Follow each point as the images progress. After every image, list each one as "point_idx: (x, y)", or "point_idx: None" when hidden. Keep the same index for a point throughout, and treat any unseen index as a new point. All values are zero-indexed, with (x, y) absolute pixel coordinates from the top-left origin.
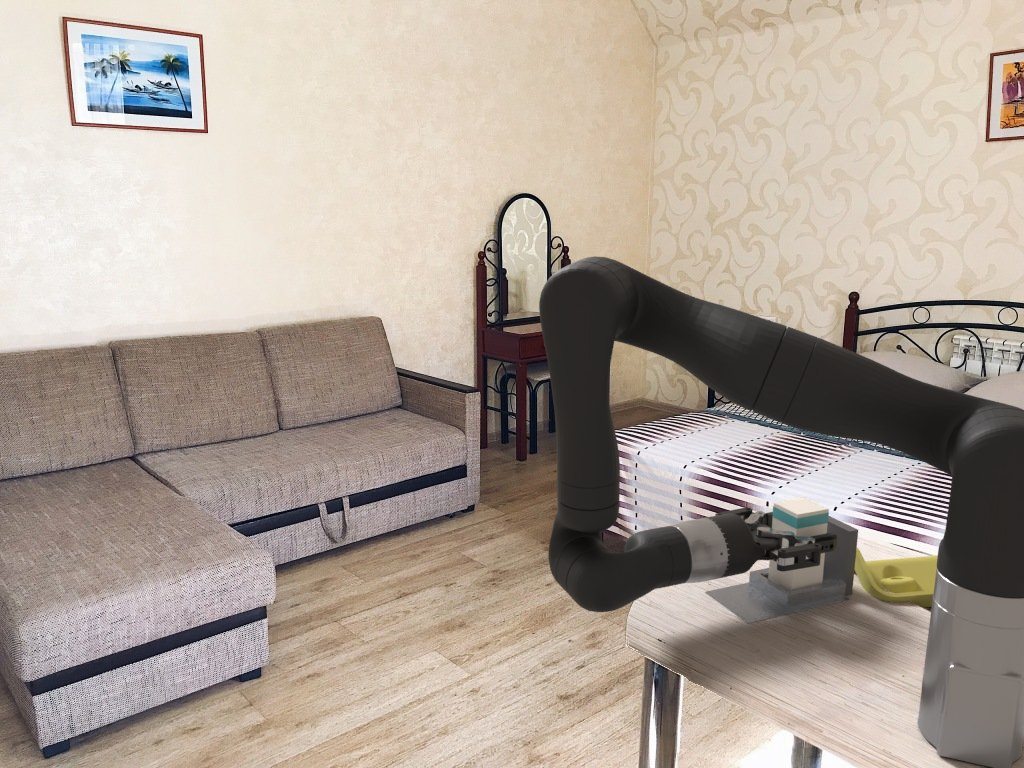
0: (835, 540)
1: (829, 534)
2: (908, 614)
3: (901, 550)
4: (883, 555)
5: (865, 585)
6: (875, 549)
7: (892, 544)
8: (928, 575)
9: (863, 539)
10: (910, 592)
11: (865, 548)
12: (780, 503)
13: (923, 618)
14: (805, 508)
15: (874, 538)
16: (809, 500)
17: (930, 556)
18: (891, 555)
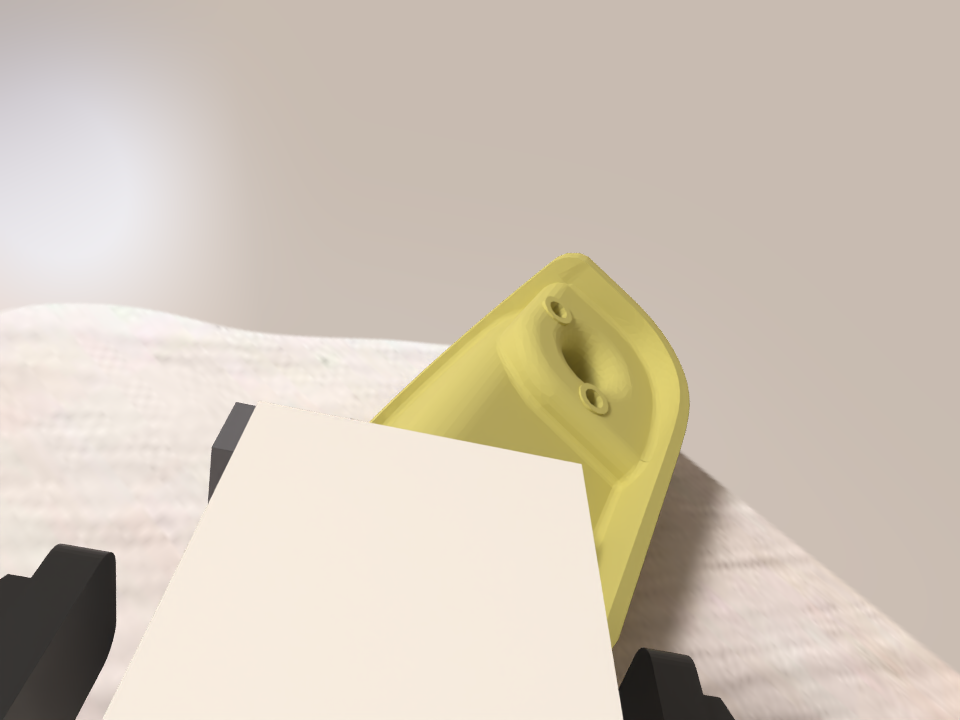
0: (724, 712)
1: (682, 694)
2: (612, 651)
3: (270, 343)
4: (255, 386)
5: None
6: (211, 370)
7: (228, 329)
8: (528, 447)
9: (139, 341)
10: (623, 580)
11: (182, 379)
12: (186, 689)
13: (651, 636)
14: (494, 592)
15: (163, 324)
16: (344, 424)
17: (478, 371)
18: (271, 376)
